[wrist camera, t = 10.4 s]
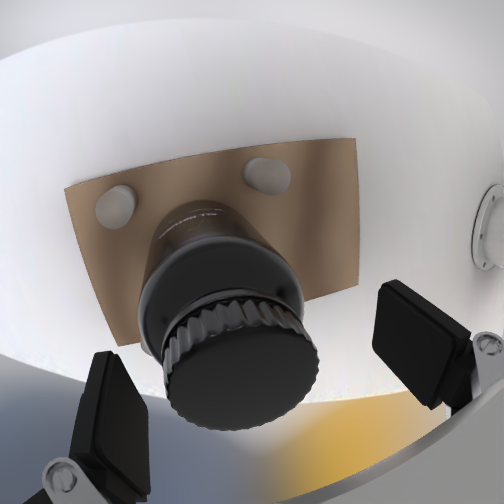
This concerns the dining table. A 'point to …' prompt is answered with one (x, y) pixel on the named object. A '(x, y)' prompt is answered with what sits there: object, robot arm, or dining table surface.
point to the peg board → (235, 196)
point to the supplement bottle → (224, 320)
